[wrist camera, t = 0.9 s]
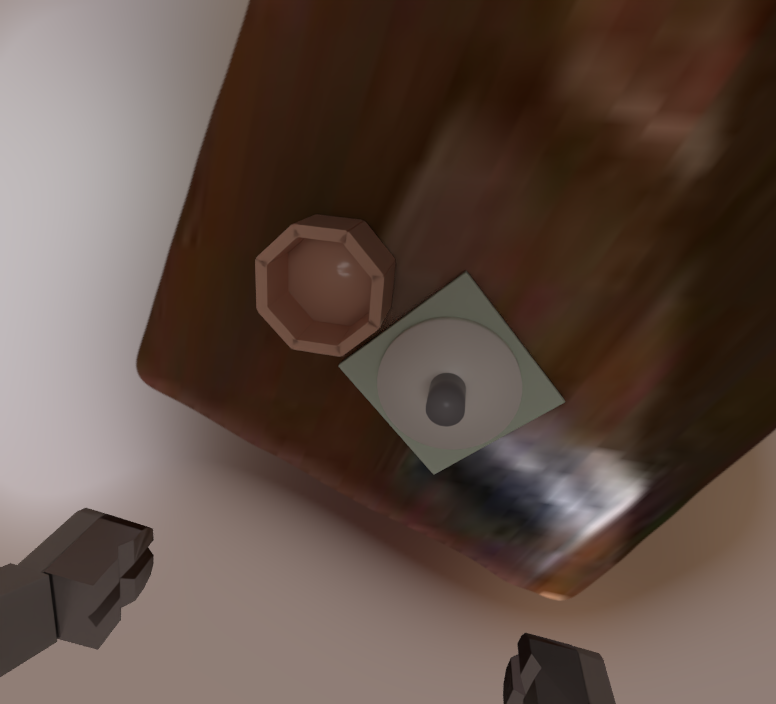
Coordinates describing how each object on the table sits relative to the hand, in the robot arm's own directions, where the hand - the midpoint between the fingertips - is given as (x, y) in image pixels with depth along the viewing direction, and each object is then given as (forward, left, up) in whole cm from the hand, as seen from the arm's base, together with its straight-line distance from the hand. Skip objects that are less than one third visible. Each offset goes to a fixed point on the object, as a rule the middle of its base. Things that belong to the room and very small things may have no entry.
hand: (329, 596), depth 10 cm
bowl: (+9, -4, -36) cm, 37 cm away
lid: (+7, +11, -35) cm, 38 cm away
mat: (+7, +11, -36) cm, 38 cm away
